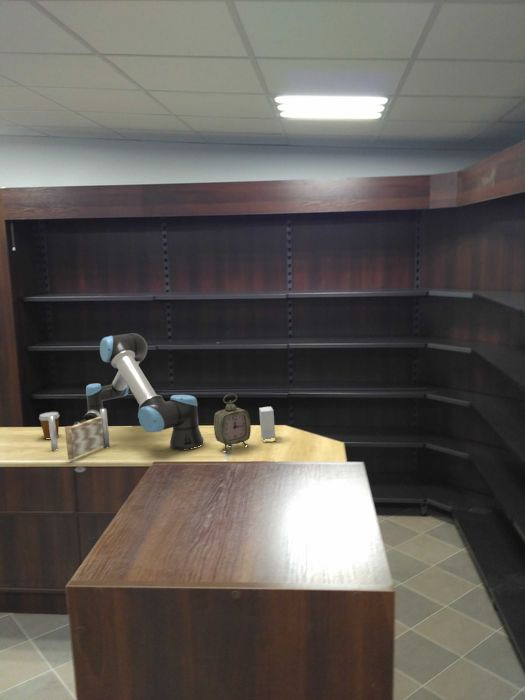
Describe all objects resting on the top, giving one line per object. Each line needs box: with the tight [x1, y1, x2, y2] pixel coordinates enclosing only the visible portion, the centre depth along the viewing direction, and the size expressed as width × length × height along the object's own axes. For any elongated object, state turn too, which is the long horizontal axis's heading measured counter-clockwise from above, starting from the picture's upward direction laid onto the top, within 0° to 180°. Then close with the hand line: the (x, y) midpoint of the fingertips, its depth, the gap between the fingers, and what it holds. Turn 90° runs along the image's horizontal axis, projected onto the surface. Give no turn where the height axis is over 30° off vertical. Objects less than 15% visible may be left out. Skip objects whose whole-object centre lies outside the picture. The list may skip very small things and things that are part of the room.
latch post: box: [48, 416, 59, 451], centre depth 249 cm, size 3×3×16 cm
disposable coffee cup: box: [38, 411, 60, 439], centre depth 269 cm, size 10×10×12 cm
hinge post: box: [100, 407, 111, 449], centre depth 250 cm, size 3×3×18 cm
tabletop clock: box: [213, 393, 252, 452], centre depth 240 cm, size 14×9×25 cm, turn 123°
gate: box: [64, 417, 104, 460], centre depth 240 cm, size 20×2×14 cm, turn 150°
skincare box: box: [258, 406, 276, 441], centre depth 250 cm, size 8×6×15 cm
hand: (78, 433), depth 249 cm, fingers closed
